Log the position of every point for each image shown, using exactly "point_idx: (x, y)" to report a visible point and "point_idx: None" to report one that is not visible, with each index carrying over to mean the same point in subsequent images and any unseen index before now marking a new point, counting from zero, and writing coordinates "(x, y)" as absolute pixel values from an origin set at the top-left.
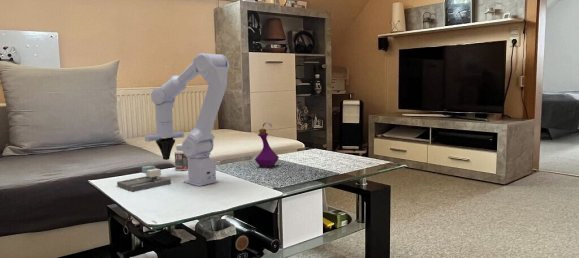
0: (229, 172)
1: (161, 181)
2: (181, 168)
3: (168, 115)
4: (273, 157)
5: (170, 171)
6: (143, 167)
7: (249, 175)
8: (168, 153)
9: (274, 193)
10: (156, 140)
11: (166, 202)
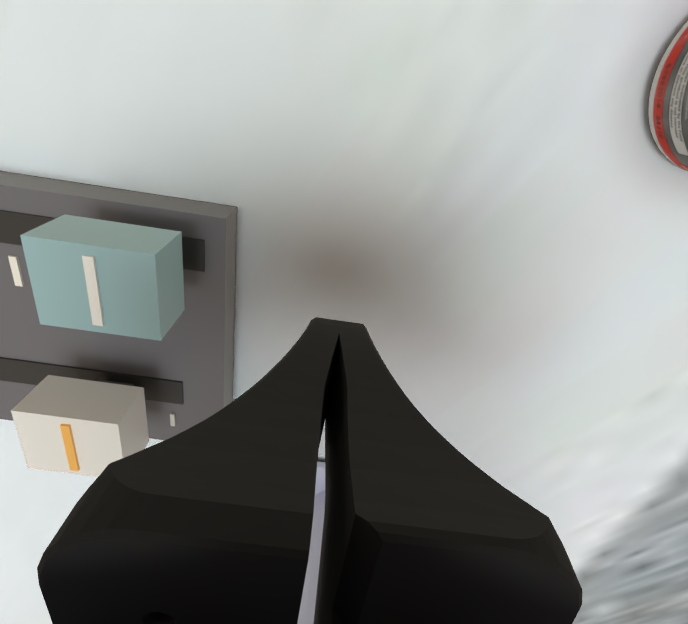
0: (682, 502)
1: (149, 436)
2: (665, 145)
3: None
4: None
5: (588, 31)
6: (29, 275)
7: (625, 605)
8: (325, 462)
9: None
10: (49, 594)
11: (43, 603)
